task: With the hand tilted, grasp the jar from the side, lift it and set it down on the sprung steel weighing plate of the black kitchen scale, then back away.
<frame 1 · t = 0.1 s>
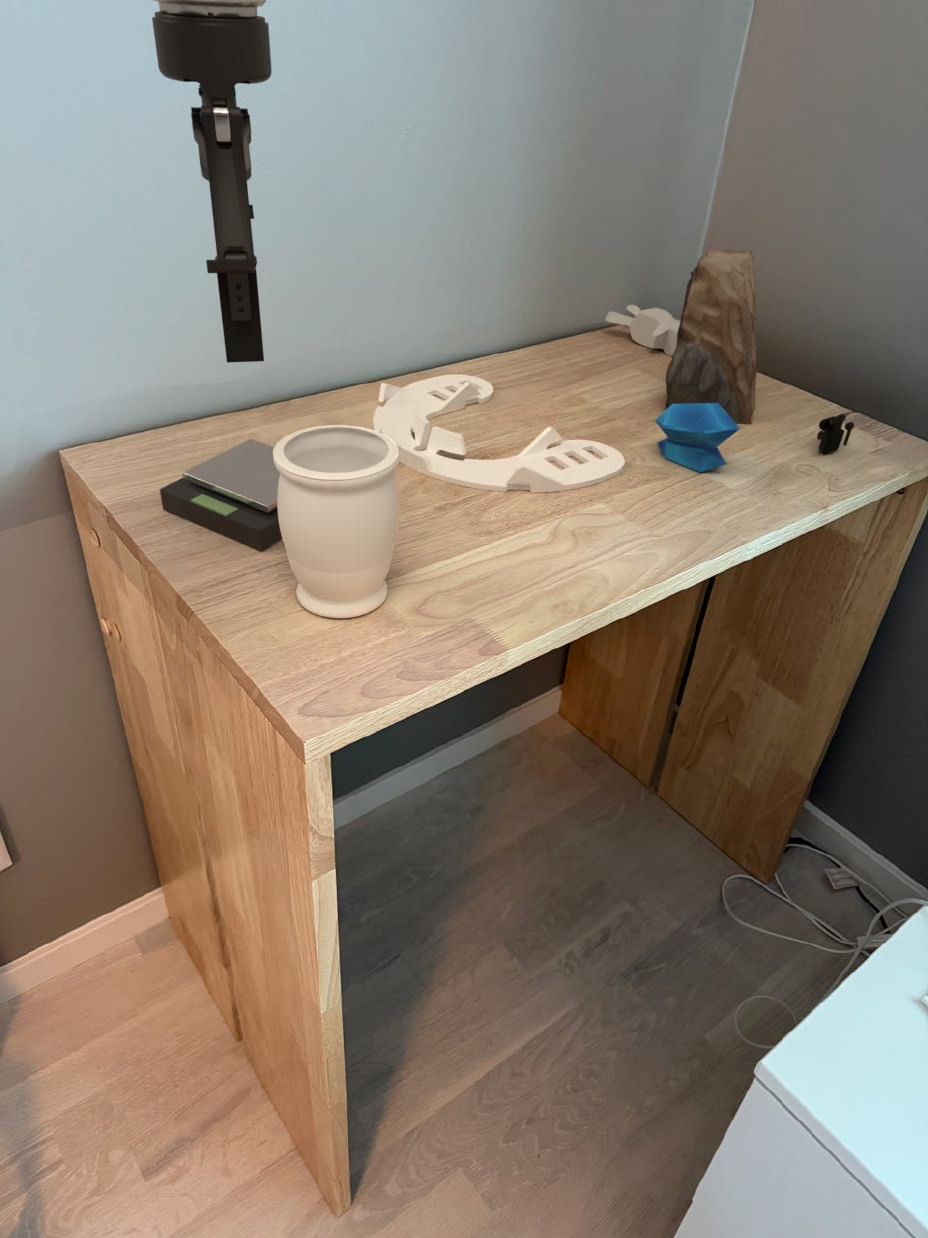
hand: (241, 329, 71), 24 cm above the table, tool pointing down, fingers open, 13 cm apart
bunny figurine: (651, 345, 144), on the table
scale platform: (258, 473, 94), point 3 cm above the table, slide at 0.0 cm
scale: (257, 503, 96), on the table
crystal: (688, 465, 109), on the table
cable organizer: (474, 438, 112), on the table
wireless earbuds: (823, 452, 114), on the table
brown rock: (706, 410, 123), on the table
jar: (342, 596, 83), on the table
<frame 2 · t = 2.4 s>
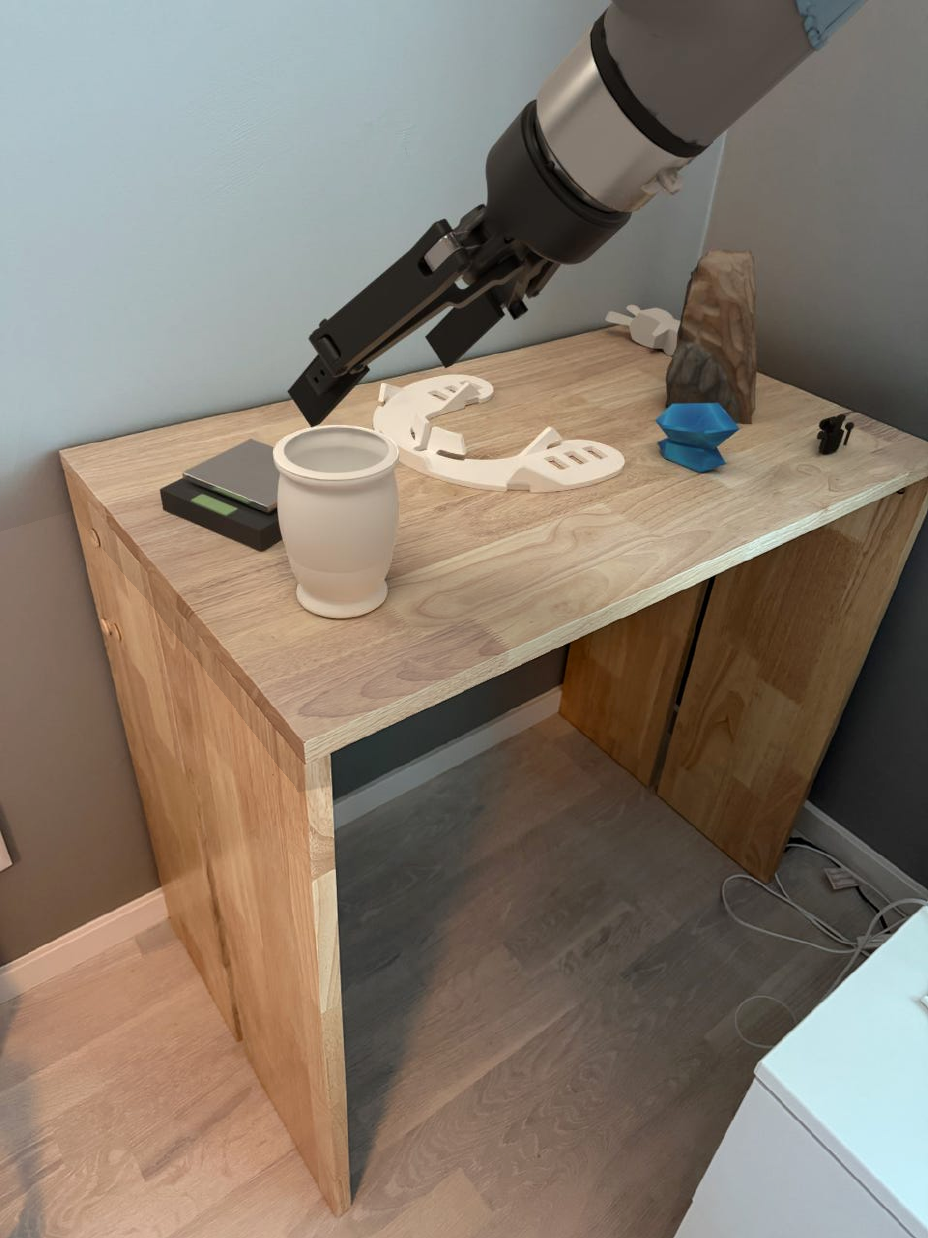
hand: (375, 377, 60), 25 cm above the table, tool tilted 45°, fingers open, 13 cm apart
nothing on the table moved.
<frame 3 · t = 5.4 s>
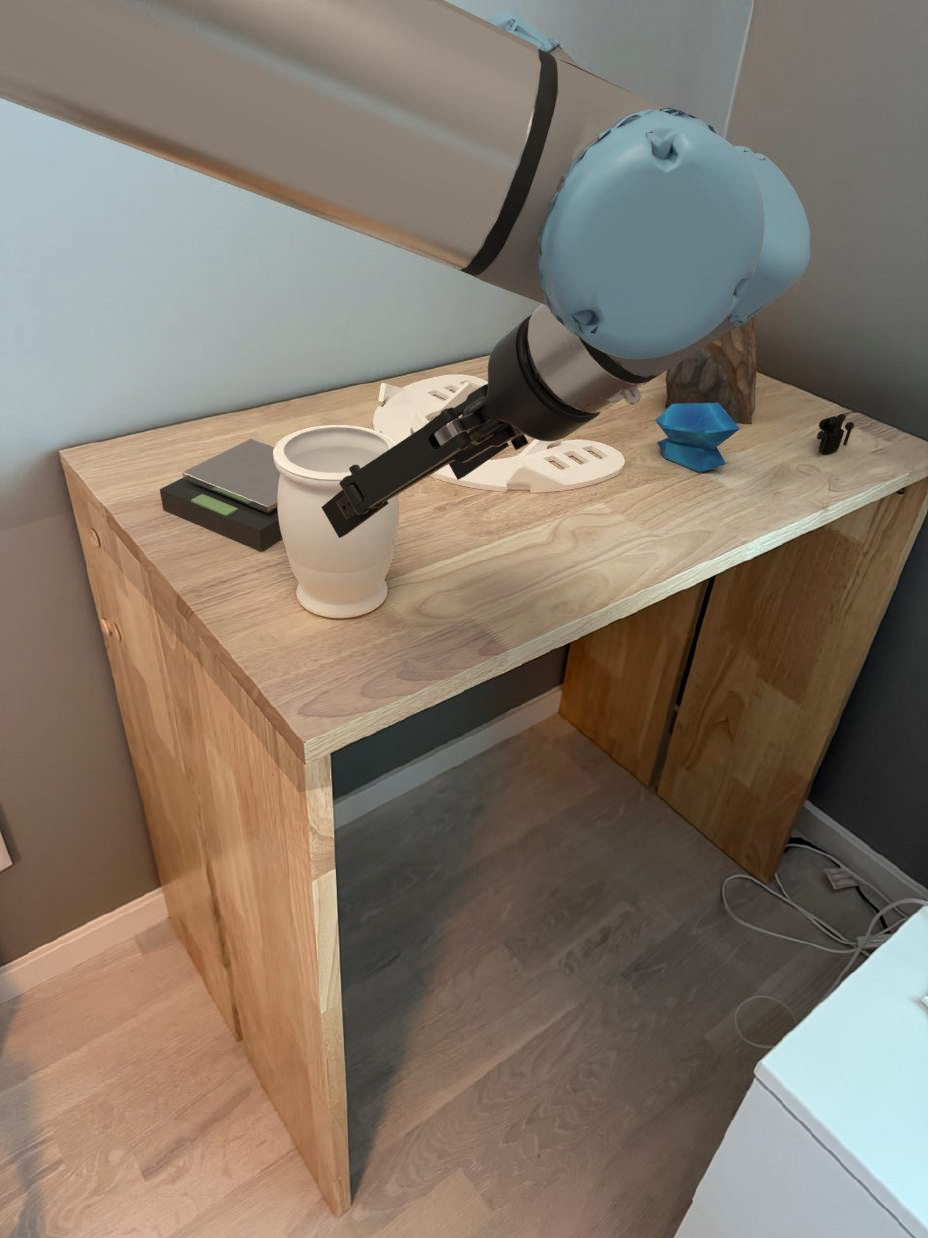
hand: (396, 491, 71), 14 cm above the table, tool tilted 45°, fingers open, 13 cm apart
nothing on the table moved.
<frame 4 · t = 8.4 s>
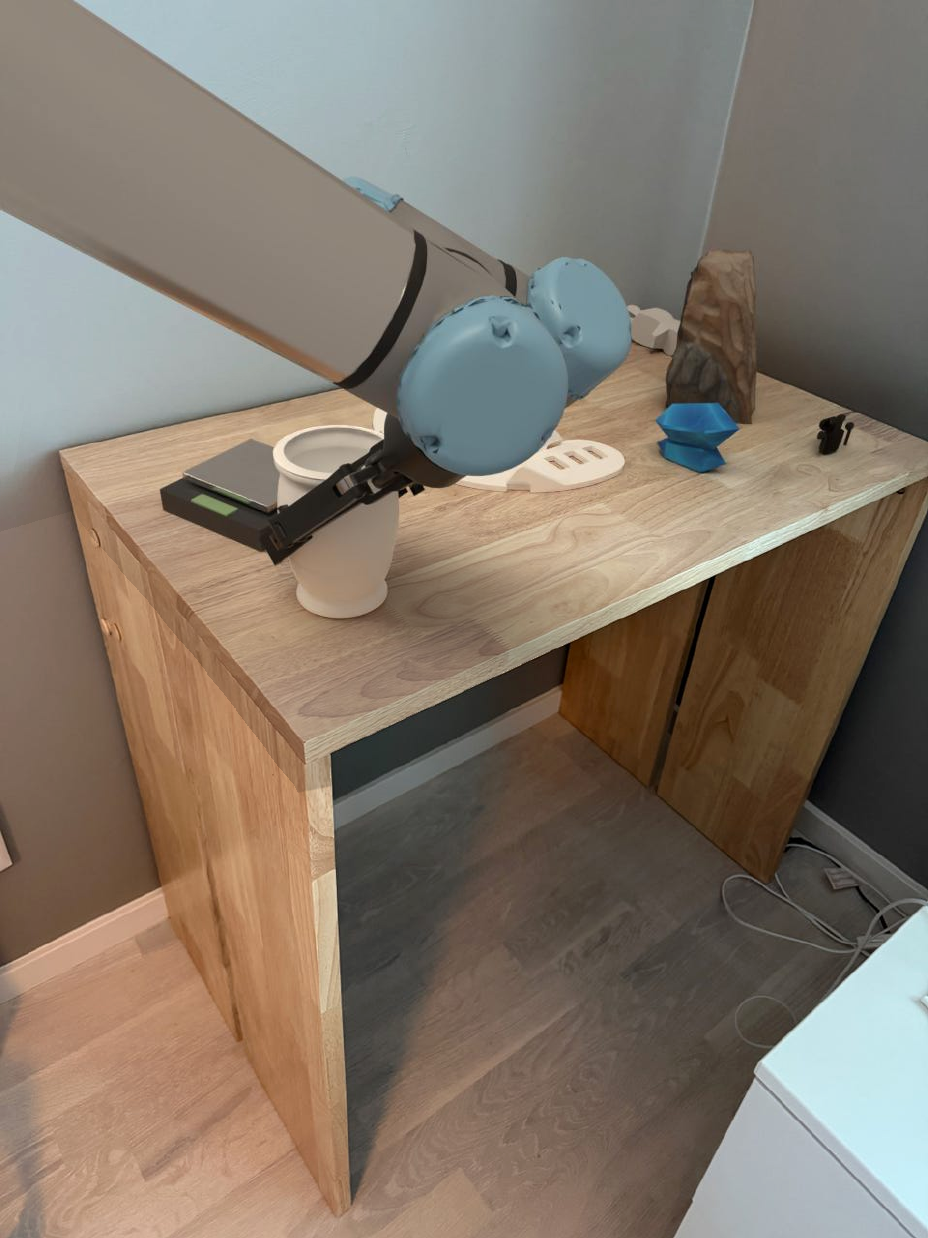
hand: (318, 527, 81), 6 cm above the table, tool tilted 45°, fingers closed on jar, 10 cm apart
jar: (342, 596, 83), on the table, touching gripper
everything else where it was.
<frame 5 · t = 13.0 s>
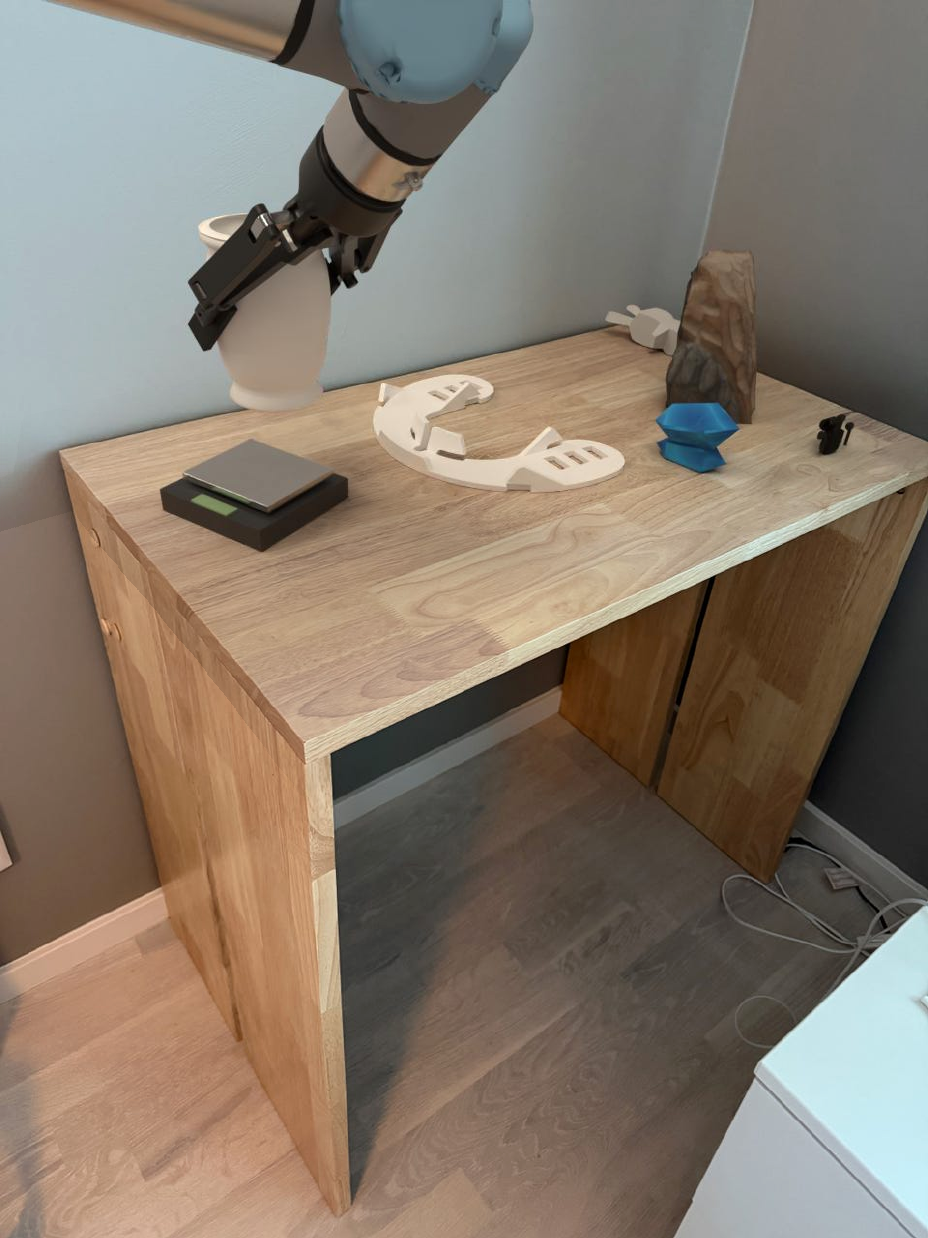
hand: (251, 323, 80), 21 cm above the table, tool tilted 45°, fingers closed on jar, 10 cm apart
jar: (277, 398, 82), point 15 cm above the table, touching gripper
everything else where it was.
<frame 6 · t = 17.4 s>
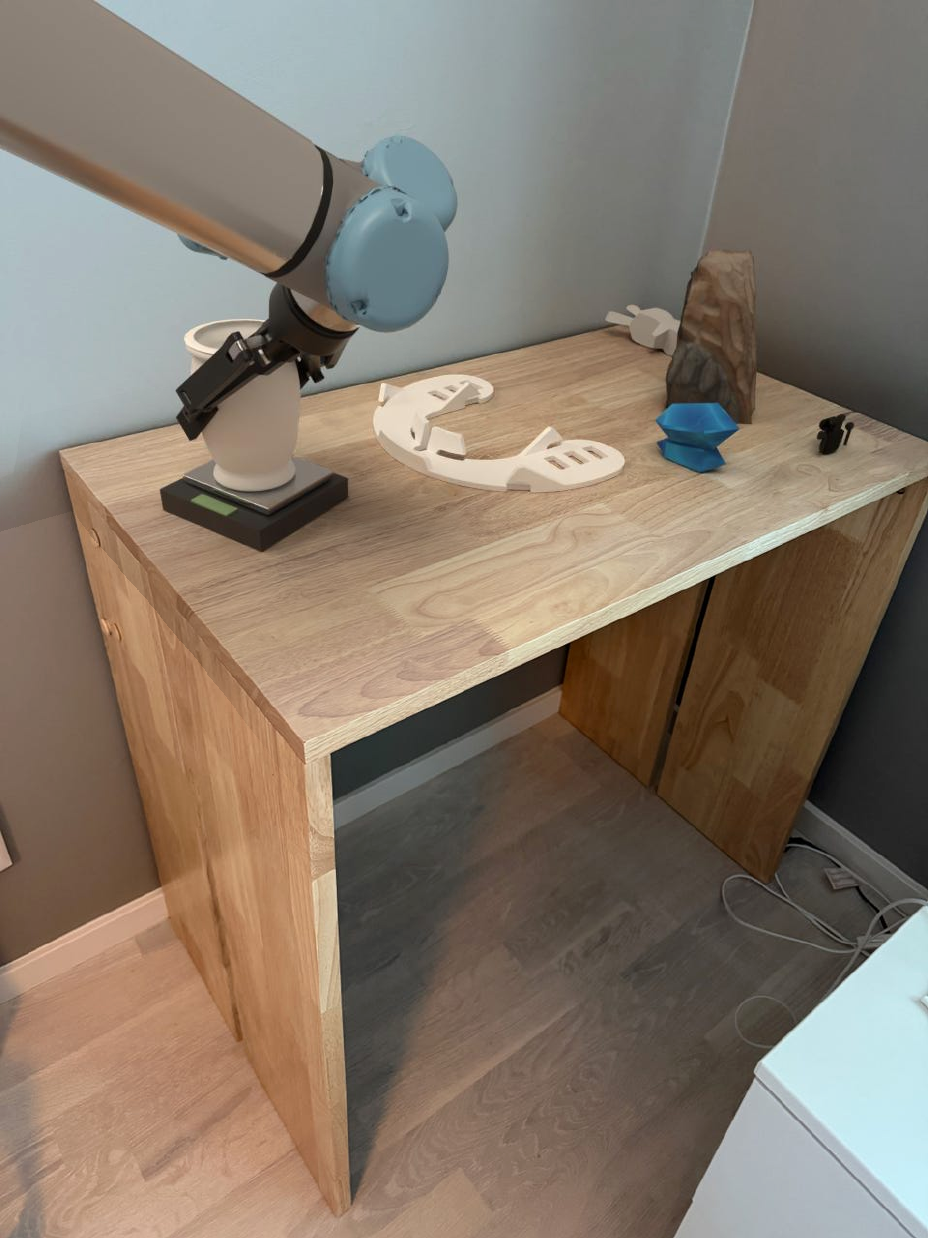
hand: (232, 412, 91), 10 cm above the table, tool tilted 45°, fingers closed on jar, 10 cm apart
scale platform: (259, 475, 94), point 3 cm above the table, slide at -0.3 cm, touching jar
jar: (255, 476, 94), point 3 cm above the table, touching gripper, scale platform
everything else where it was.
when the fingers open (10 cm above the table, at t = 17.6 s): jar stays where it is, resting on scale platform.
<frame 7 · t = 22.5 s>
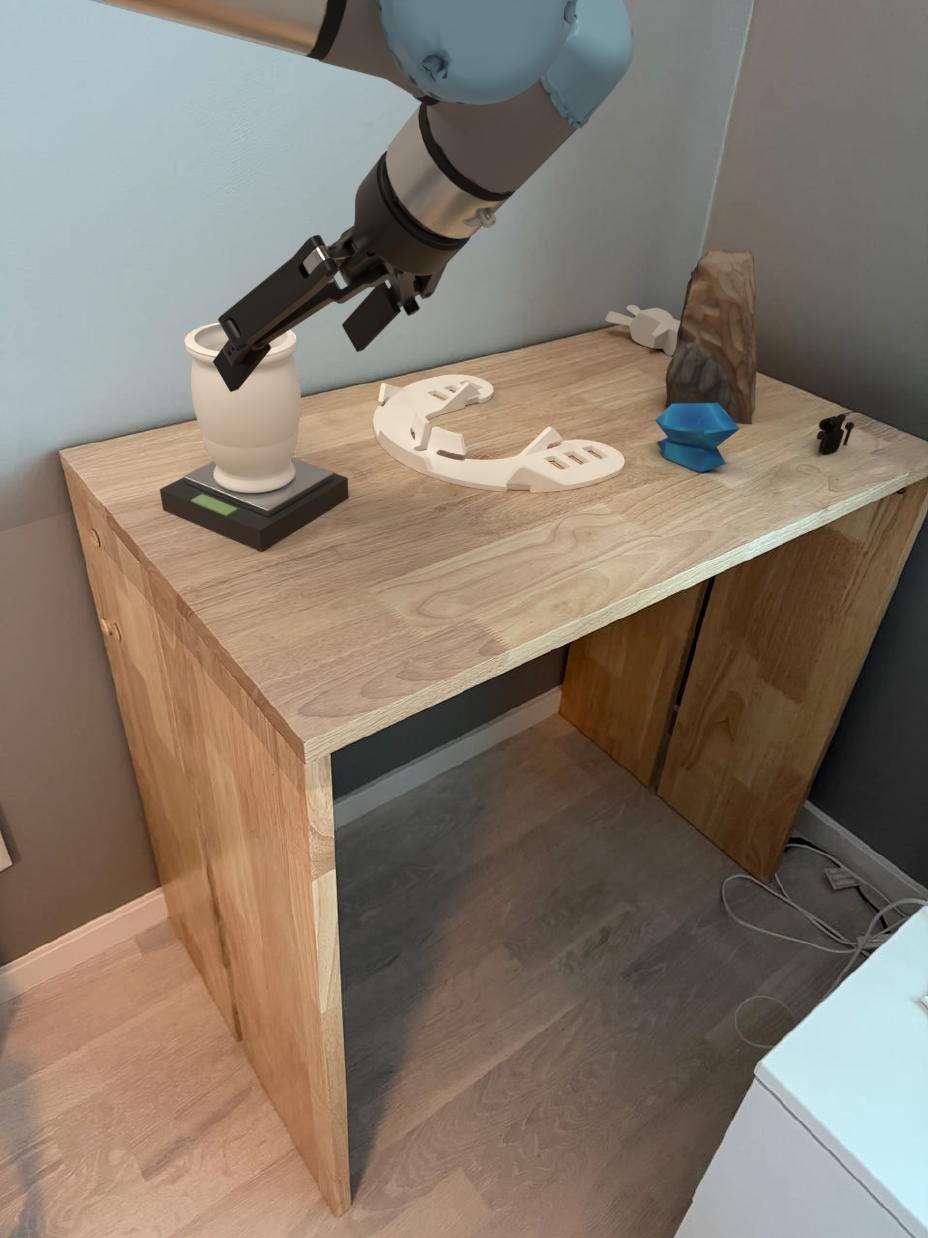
hand: (292, 355, 73), 21 cm above the table, tool tilted 45°, fingers open, 13 cm apart
jar: (255, 477, 94), point 3 cm above the table, touching scale platform
everything else where it was.
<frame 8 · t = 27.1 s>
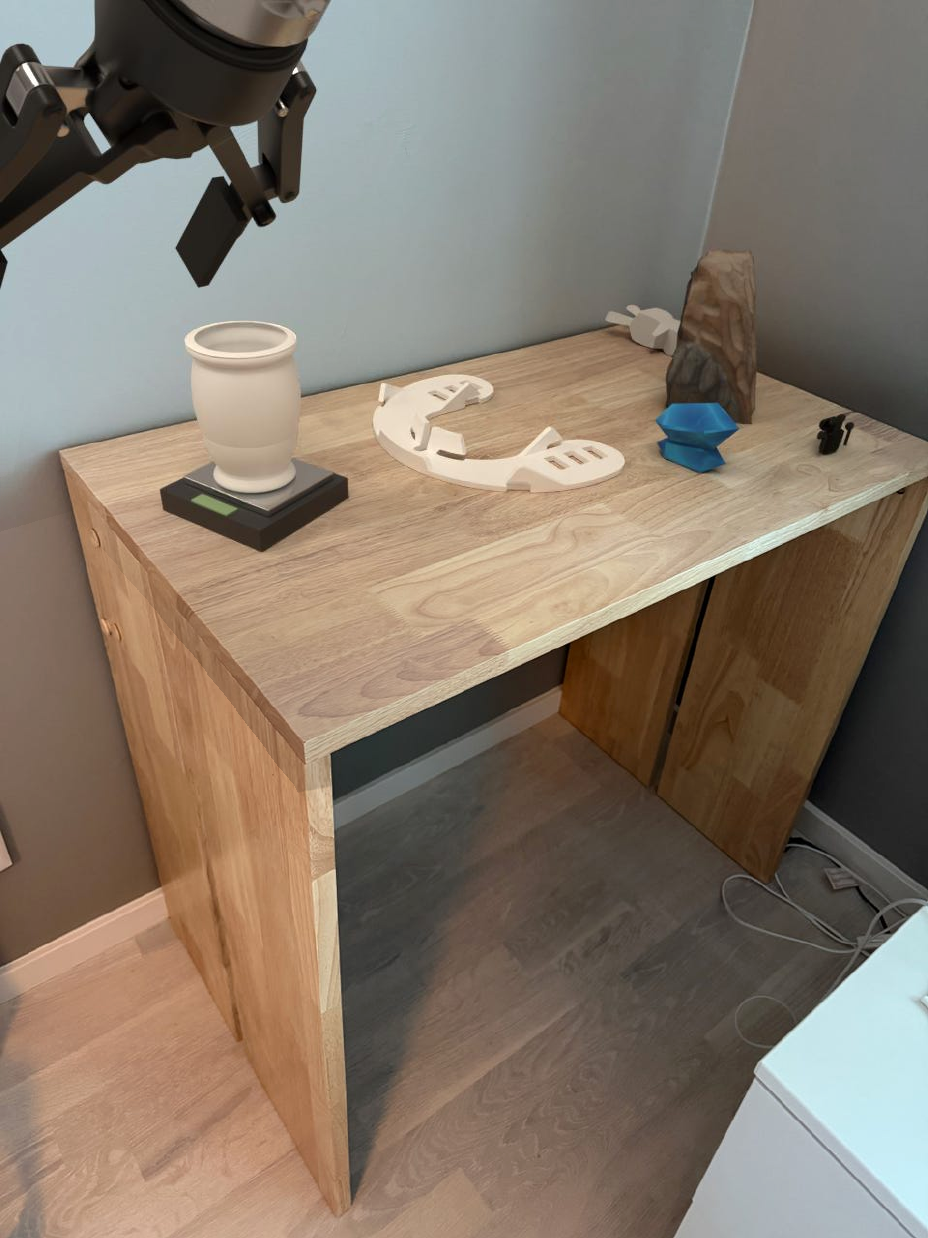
hand: (88, 288, 49), 33 cm above the table, tool tilted 45°, fingers open, 13 cm apart
nothing on the table moved.
at the end: jar inside the target area on the scale (0.1 cm from its centre), point 3.2 cm above the scale's base; jar tilted 0°; the gripper is holding nothing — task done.
